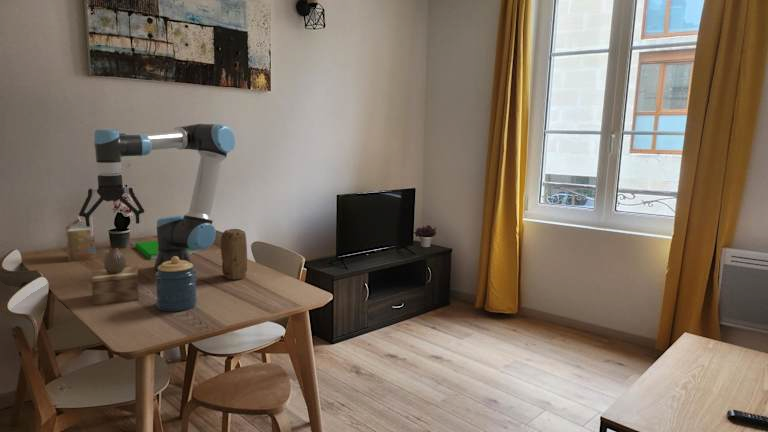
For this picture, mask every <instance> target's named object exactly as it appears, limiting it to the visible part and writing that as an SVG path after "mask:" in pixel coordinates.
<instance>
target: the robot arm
mask: <svg viewBox="0 0 768 432" xmlns="http://www.w3.org/2000/svg"><path fill="white" fill-rule="evenodd" d="M93 137H94V140H93V141H94V142H93V145H94V149H95V159H96V161H95V163H96V164H95V165H96V173H97V174H98V176H97V189H95V188H94V189H93V188H89V189H88V190H87V191H88V192H87V197H86V199H85V200H84V203H83V205H82V207H81V209H80V211H79V213H78V216H79V217H83V218H84V219H85V222H86V226H87V227H90V234H91V236H93V235H94V233H95V232H94V233H93V228H94V222H93V216H91V215H92V214H93V213H94V212H95V210H96V209H97V208H98V207H99V206H100V205H101V204H102V203H103V202H104V201H105V202H117V201H120V202H122V203H123V204H124V205H125V206H126V207H127V209H129V210H130V211H131V212H132V213H133V214H132V218H133V232H134V234H137V233H138V232H137V224H140V222H141V221H140V215H141V214H144V213H145V209H144V207H143V206H142V204H141V203H140V201H139V200H138V198H137V196H136V194H135V192H134V188H133V187H132V186H130V187H126V188H124V187H123V185H124V184H123V175H122V174H121V173H122V162H121V161H122V157H138V156H139V157H142V156H148V155H149V154H151V152H152V151H155V150H166V149H177V150H193V151H197V153H198V155H199V157H200V160H199V164H198V167H197V171H196V172H197V173H196V178H195V183H194V186H193V191H192V196H191V201H190V205H189V209H188V212H187V213H185V214H184V215H182V214H181V215H173V216H172V215H171V216H164V217H160V218H158V219H157V221H156V238H157V240H156V241H158V254H157V258H156V259H155V261H154V264H153V265H154V271H155V273H157V272H158V271H159V270H158V266H160V265H161V264H162V263H164V262H166V261H171V259H172V257H174V256H177V257H178V258H179V260H186V261H188V262H189V263H192V259H191V257H190V255H189V254H188V252H187V249H192V250H197V251H205V250H207V249H209V248H210V247H212V245H213V244H214V242H215V240H216V237H217V231H216V228H215V226H214V225H213V222H214V220H213V217H212V216H211V212H212V208H213V203H214V199H215V194H216V189H217V185H218V180H219V175H220V172H221V166H222V165H221V164H222V162H223V161H224V160H226V159H227V155H228V153H230V152H232V150H234V148H235V145H236V136H235V134H234V132H233V130H232V129H231V128H230V127H229V126H227V124H226V125H225V124H220V123H195V124H190V125H184V126H176V127H174V128H173V129H163V130H162V129H161V130H151V131H150V130H149V131H135V132H122V133H120V132H119V130H118V129H108V128H107V129H102V128H101V129H96V130H95V131H94V135H93ZM96 193H97V194H98V196H99V198H98V199H97V201H95V203H94V204H93V205H92V206H91V208H89V209H88V211H87V212H85V211H86V209H87V208H88V206H89V203H90V201H91V200H92V197H93V196H95V194H96ZM124 193H126V194H128V195H130V196H129V197H130V198H131V200H133V203H135V205H136V207H137V208H138V209H137V208H135V206H134V205H133V204H131V203H130V202H129V201H128V200H127V199H126V198H125V197H124V196H123V194H124ZM192 264H193V263H192Z"/></svg>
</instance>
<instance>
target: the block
mask: <svg viewBox="0 0 768 432" xmlns="http://www.w3.org/2000/svg"><path fill="white" fill-rule="evenodd" d="M246 234H247V233H246V231H245V230H242V229H239V228H229V229H226V230H224V231H223V233H222V235H221V238H220V252H221V259H222V261H221V262H222V265H221V267H222V270H221V271H222V274H223V276H224V277H225V278H227V279H228V280H234V281H235V280H242V279H244V278H245V277H246V276H247V271H248V247H247V246H248V244H247V235H246Z"/></svg>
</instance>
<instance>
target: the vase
mask: <svg viewBox="0 0 768 432" xmlns="http://www.w3.org/2000/svg"><path fill="white" fill-rule="evenodd" d="M126 262H127V261H126V259H125V256H124V254H123V253H122V252H121V251H120V250H119V248H118V247H112V248H109V250H108V252H107V253H106V254H105V256H104V258H103V267H104V268H103V269H105V270H106V271H107V272H108V273H110V274H117V273H121V272H122V271H123V270H124V268H125V267H126Z"/></svg>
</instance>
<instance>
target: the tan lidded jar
mask: <svg viewBox="0 0 768 432" xmlns="http://www.w3.org/2000/svg"><path fill="white" fill-rule="evenodd" d="M93 233H94V235H93V236H91V234H90V227H87V226H86V220H82V219H81V217H80V216H79V215H78V216H77V219H76V220H74V221H73V222H71V223H69V224H67V226H66V227H65V237H66V247H67V258H68V262H69V263H75V262H83V261H84V262H85V261H93V260H94V261H96V260H97V251H96V249H97V248H96V237H95V227H93Z"/></svg>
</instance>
